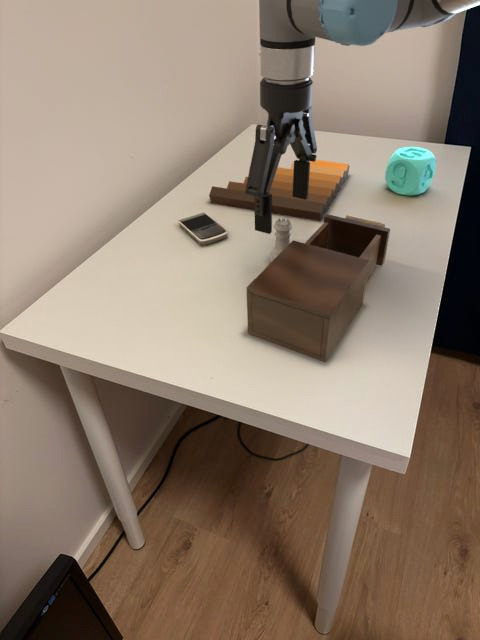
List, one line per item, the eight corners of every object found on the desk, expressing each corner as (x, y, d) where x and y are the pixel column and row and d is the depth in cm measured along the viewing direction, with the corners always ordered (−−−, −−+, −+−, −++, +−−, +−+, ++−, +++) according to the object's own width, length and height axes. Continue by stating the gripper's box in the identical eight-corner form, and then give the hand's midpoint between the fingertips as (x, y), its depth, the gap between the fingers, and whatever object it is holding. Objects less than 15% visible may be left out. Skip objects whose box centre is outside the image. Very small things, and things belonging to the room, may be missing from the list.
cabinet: (291, 283, 83) (292, 239, 77) (362, 305, 77) (369, 260, 72) (247, 333, 73) (246, 287, 68) (325, 362, 68) (330, 314, 62)
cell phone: (202, 248, 93) (201, 241, 92) (176, 225, 100) (176, 219, 99) (229, 238, 95) (229, 232, 94) (203, 216, 102) (202, 210, 101)
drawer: (334, 235, 93) (337, 202, 89) (393, 249, 88) (399, 215, 84) (291, 284, 81) (292, 249, 77) (356, 304, 76) (361, 268, 72)
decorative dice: (431, 186, 110) (439, 151, 104) (415, 199, 105) (423, 163, 100) (399, 177, 114) (405, 143, 109) (382, 189, 109) (387, 154, 104)
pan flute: (209, 204, 107) (319, 222, 99) (208, 189, 105) (321, 207, 97) (252, 162, 124) (348, 174, 116) (251, 149, 122) (350, 161, 114)
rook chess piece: (266, 265, 87) (266, 225, 82) (274, 252, 90) (274, 213, 85) (290, 269, 86) (291, 229, 81) (297, 256, 89) (299, 217, 84)
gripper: (300, 56, 78) (295, 181, 92) (215, 98, 62) (224, 241, 76) (344, 61, 75) (332, 189, 89) (267, 105, 59) (266, 253, 73)
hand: (282, 213), depth 82 cm, fingers open, 13 cm apart
